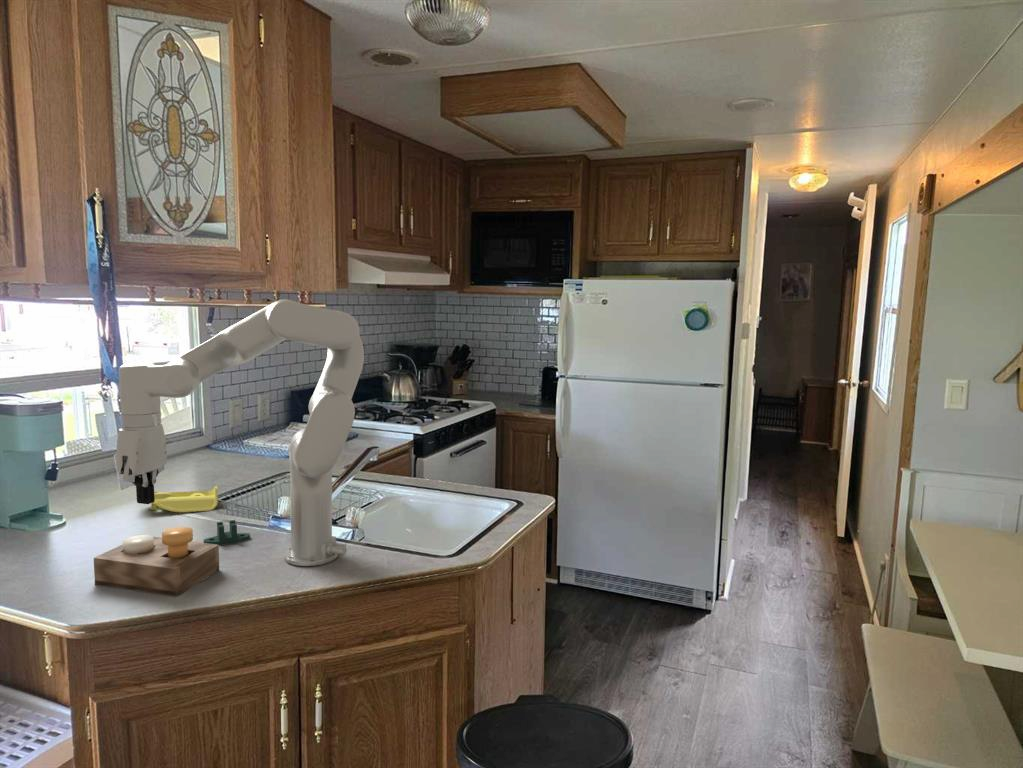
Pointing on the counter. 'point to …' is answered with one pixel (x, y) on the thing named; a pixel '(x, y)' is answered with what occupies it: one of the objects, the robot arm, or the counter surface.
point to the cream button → (138, 544)
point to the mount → (227, 535)
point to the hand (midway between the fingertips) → (145, 502)
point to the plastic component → (186, 501)
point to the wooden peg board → (156, 568)
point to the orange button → (177, 541)
